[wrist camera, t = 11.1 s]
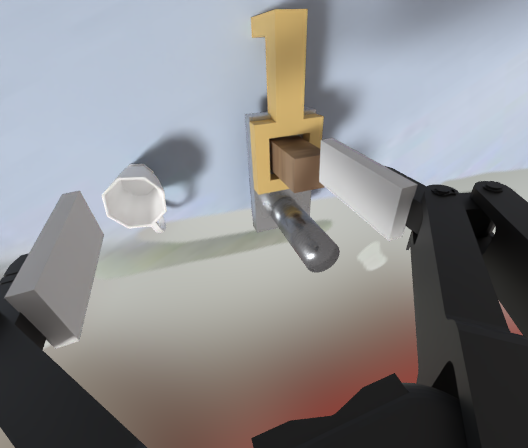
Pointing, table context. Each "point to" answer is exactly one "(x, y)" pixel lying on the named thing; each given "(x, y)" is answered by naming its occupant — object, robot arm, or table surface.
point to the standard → (290, 214)
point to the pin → (295, 162)
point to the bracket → (282, 91)
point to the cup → (136, 199)
